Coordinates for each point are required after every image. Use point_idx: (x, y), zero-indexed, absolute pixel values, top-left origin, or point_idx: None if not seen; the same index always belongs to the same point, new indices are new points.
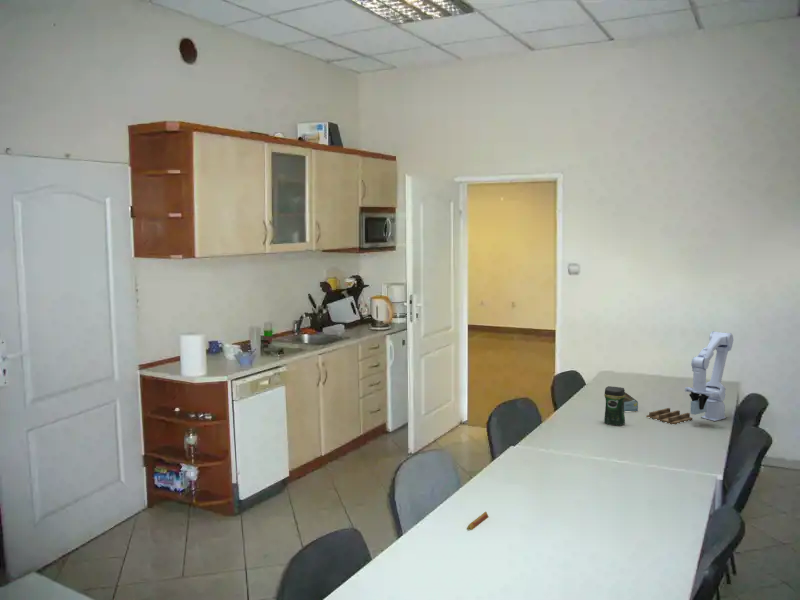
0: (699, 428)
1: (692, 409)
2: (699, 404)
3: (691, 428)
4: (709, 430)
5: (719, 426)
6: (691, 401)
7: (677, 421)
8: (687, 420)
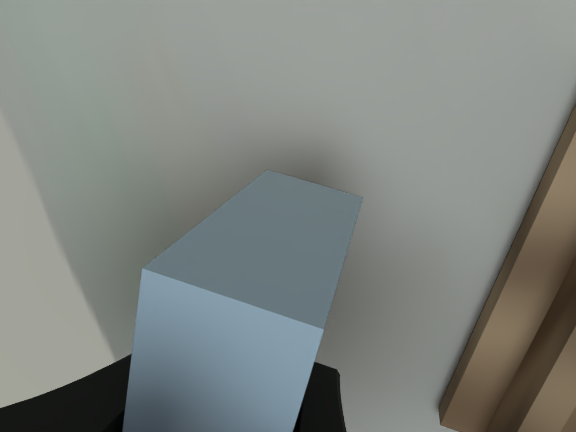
0: (250, 120)
1: (305, 214)
2: None
3: (323, 52)
4: (140, 115)
5: None
6: (305, 339)
7: (573, 169)
8: (473, 337)
